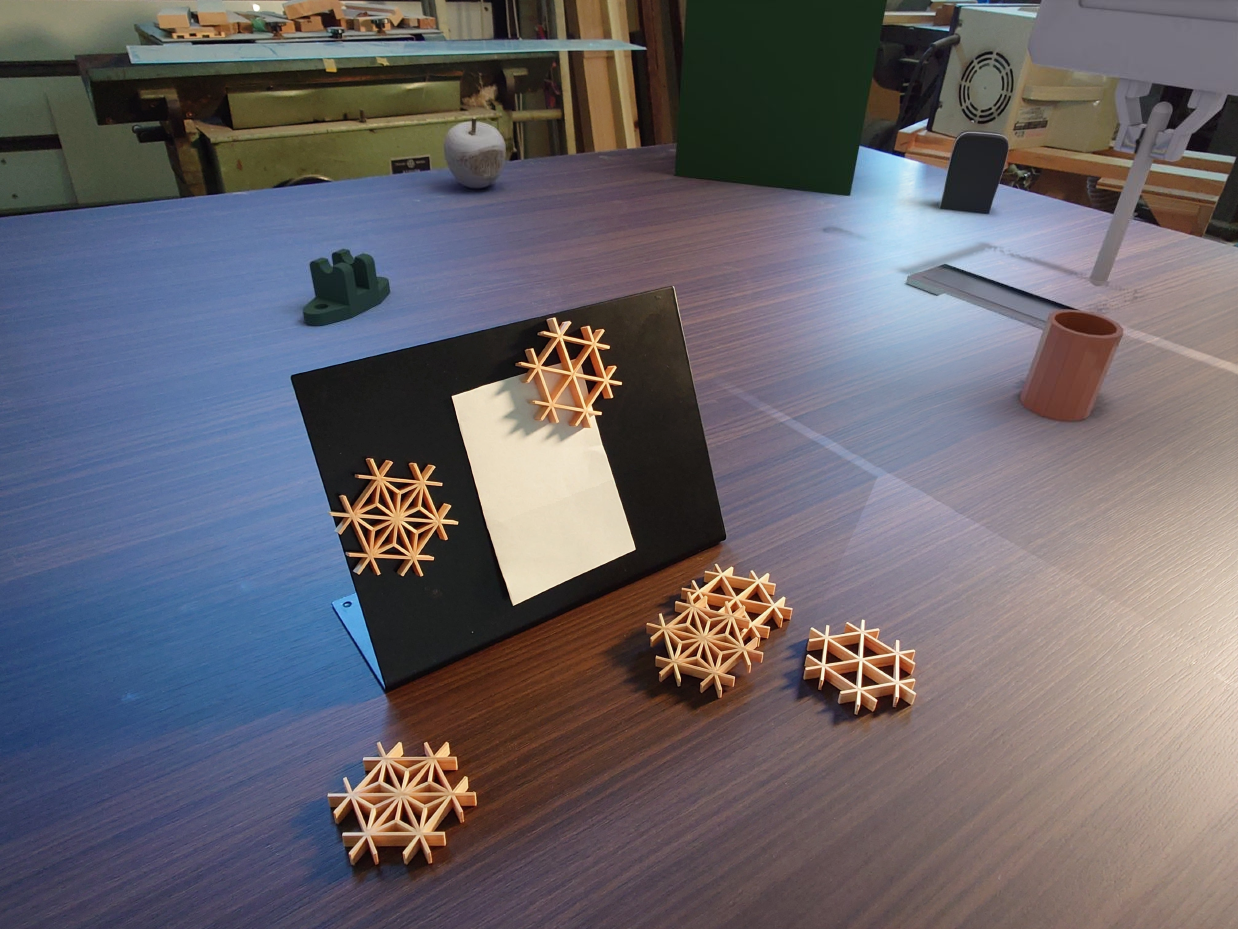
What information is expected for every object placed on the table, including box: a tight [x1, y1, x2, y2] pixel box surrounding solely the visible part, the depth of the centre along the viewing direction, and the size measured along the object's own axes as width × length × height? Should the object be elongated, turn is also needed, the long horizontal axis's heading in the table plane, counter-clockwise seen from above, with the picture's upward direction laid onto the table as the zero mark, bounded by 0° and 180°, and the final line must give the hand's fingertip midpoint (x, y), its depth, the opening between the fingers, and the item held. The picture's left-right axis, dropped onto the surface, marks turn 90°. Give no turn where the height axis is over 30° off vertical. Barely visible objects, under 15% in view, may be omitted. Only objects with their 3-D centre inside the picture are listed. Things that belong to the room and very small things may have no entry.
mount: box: [302, 248, 391, 327], centre depth 80 cm, size 11×4×5 cm, turn 153°
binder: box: [674, 0, 888, 196], centre depth 121 cm, size 27×15×32 cm, turn 74°
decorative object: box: [443, 116, 507, 189], centre depth 116 cm, size 9×9×10 cm
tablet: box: [905, 263, 1079, 331], centre depth 90 cm, size 18×16×1 cm
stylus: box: [1089, 101, 1174, 287], centre depth 59 cm, size 1×1×13 cm
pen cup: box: [1019, 309, 1125, 423], centre depth 66 cm, size 5×5×8 cm
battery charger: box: [938, 129, 1010, 215], centre depth 110 cm, size 7×4×11 cm, turn 73°
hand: (1145, 155), depth 57 cm, fingers closed on stylus, 1 cm apart
